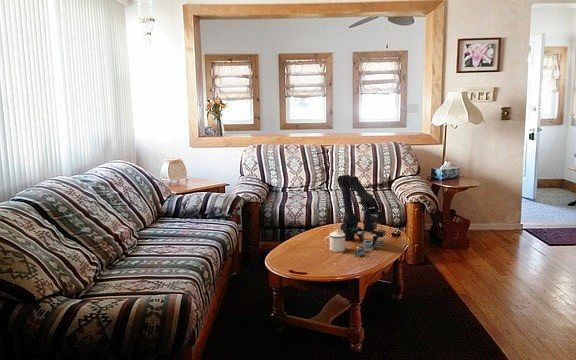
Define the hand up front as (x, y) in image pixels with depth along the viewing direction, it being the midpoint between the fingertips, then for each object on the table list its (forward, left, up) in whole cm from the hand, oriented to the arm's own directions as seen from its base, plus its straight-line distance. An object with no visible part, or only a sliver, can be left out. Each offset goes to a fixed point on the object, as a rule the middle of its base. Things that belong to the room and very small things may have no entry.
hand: (368, 246), depth 279 cm
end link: (0, 0, -1) cm, 1 cm away
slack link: (-3, -7, -1) cm, 7 cm away
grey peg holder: (+4, +9, -1) cm, 10 cm away
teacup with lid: (-19, -6, -1) cm, 19 cm away
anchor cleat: (-5, -14, -1) cm, 15 cm away
